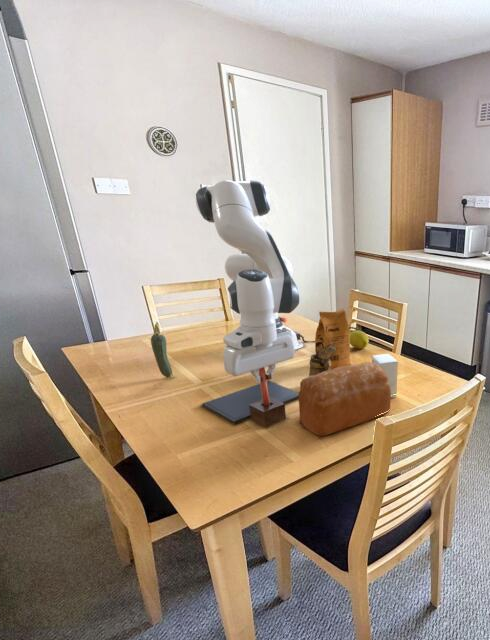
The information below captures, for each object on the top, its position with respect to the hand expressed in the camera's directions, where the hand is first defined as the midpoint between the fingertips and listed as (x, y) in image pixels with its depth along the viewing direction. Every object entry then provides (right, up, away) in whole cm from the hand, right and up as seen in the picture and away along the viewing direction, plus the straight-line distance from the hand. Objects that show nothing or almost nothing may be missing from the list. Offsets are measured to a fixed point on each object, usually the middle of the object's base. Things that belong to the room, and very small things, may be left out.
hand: (264, 380), depth 114 cm
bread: (+22, -11, +9) cm, 26 cm away
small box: (+32, -4, +25) cm, 41 cm away
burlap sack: (+11, -3, +26) cm, 28 cm away
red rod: (0, -8, +4) cm, 9 cm away
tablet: (-9, -6, +15) cm, 18 cm away
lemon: (+17, +15, +67) cm, 71 cm away
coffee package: (+10, +6, +47) cm, 48 cm away
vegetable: (-44, +1, +27) cm, 52 cm away
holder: (-1, -11, +5) cm, 12 cm away
